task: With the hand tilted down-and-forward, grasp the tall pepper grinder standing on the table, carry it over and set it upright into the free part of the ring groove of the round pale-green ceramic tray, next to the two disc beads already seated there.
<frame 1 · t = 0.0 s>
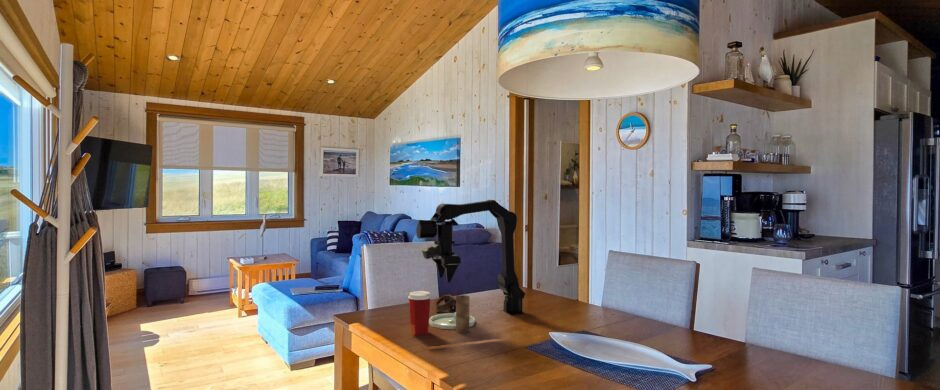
hand: (444, 279, 184), 15 cm above the table, tool pointing down, fingers open, 9 cm apart
blue disc bead: (458, 319, 182), point 1 cm above the table, touching green tray
pepper grinder: (462, 333, 168), on the table
cream disc bead: (464, 322, 178), point 1 cm above the table, touching green tray
green tray: (451, 324, 178), on the table
paper cup: (419, 335, 166), on the table
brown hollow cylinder: (449, 313, 194), on the table
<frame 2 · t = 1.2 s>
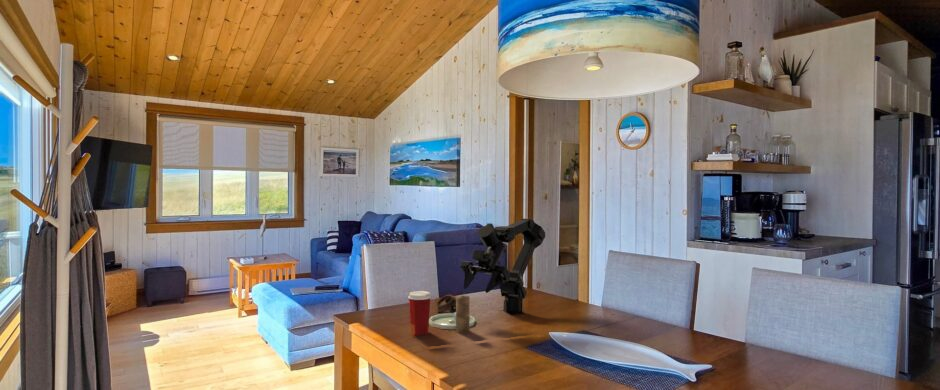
hand: (475, 290, 173), 13 cm above the table, tool tilted 45°, fingers open, 9 cm apart
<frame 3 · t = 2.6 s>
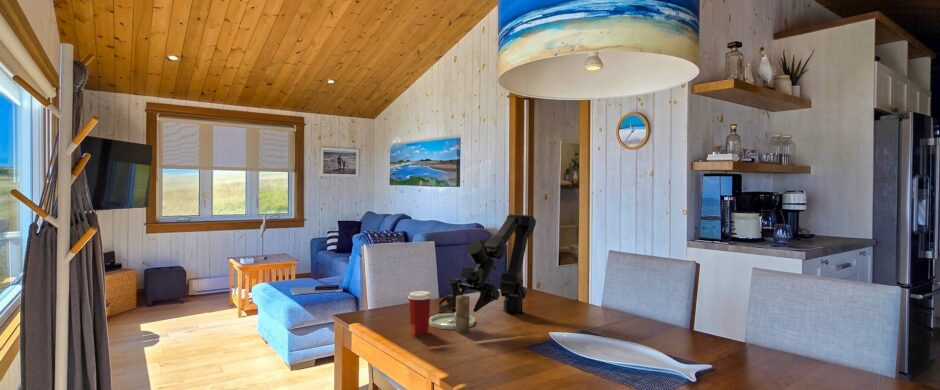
hand: (463, 309, 168), 8 cm above the table, tool tilted 45°, fingers open, 9 cm apart
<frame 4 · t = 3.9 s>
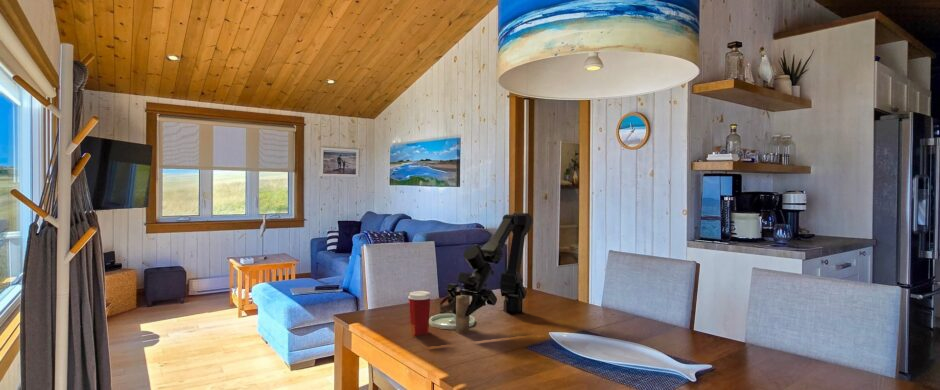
hand: (460, 315, 166), 7 cm above the table, tool tilted 45°, fingers closed on pepper grinder, 4 cm apart
pepper grinder: (462, 333, 168), on the table, touching gripper
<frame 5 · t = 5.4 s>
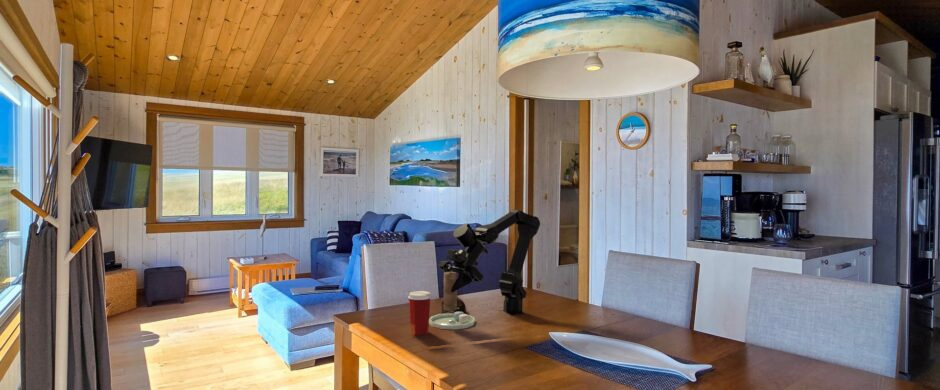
hand: (447, 290, 172), 14 cm above the table, tool tilted 45°, fingers closed on pepper grinder, 4 cm apart
pepper grinder: (450, 308, 173), point 7 cm above the table, touching gripper
when the fingers open (9 cm above the table, at t = 7.1 s): pepper grinder drops 1 cm, resting on green tray.
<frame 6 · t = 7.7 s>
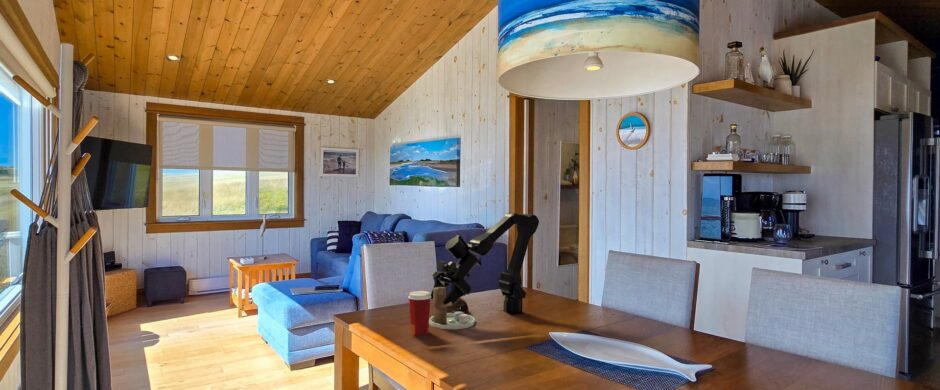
hand: (437, 301, 175), 9 cm above the table, tool tilted 45°, fingers open, 9 cm apart
pepper grinder: (440, 323, 176), point 1 cm above the table, touching green tray
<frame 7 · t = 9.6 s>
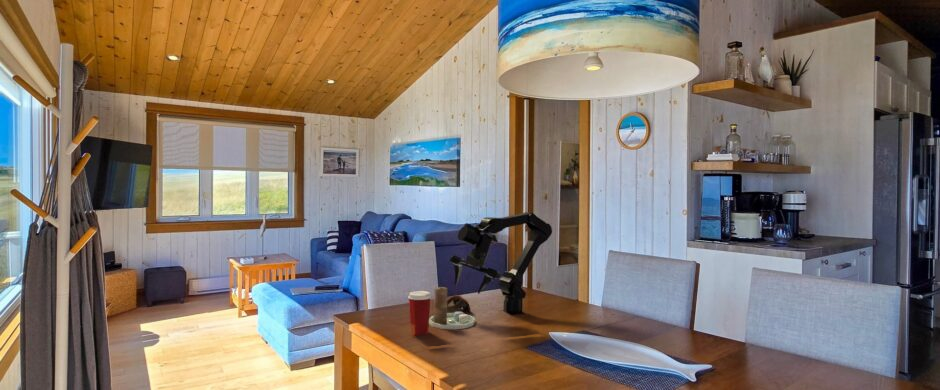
hand: (466, 289, 184), 11 cm above the table, tool tilted 25°, fingers open, 9 cm apart
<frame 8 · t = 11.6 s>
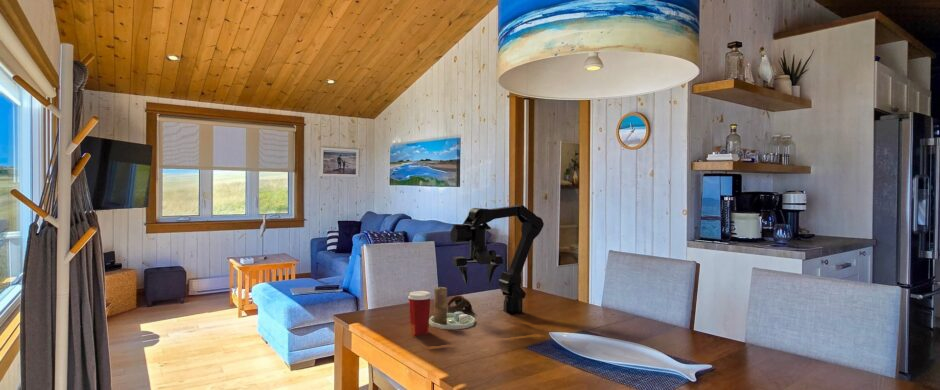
hand: (477, 283, 187), 13 cm above the table, tool pointing down, fingers open, 9 cm apart
at the end: pepper grinder 4.3 cm from the green tray (horizontally); pepper grinder tilted 0°; pepper grinder point 0.8 cm above the table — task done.
